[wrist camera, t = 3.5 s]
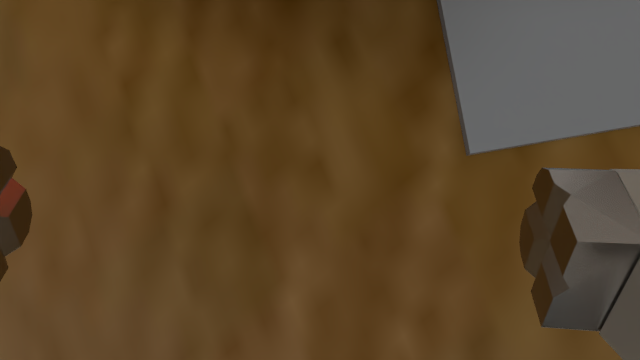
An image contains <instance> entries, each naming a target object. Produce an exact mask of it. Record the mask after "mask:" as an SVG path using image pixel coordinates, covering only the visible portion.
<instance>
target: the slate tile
mask: <svg viewBox="0 0 640 360" xmlns="http://www.w3.org/2000/svg"><path fill="white" fill-rule="evenodd" d="M437 4H438V9H439V15H440V20H441V25H442V30H443V35H444V40H445V46H446V51H447V56H448V61H449V66H450V72H451V77H452V82H453V87H454V92H455V98H456V103H457V108H458V113H459V118H460V124H461V129H462V134H463V139H464V144H465V149H466V155H473V154H479V153H484V152H490V151H496V150H502V149H508V148H514V147H519V146H525V145H531V144H537V143H543V142H549V141H554V140H560V139H566V138H572V137H578V136H584V135H589V134H595V133H601V132H607V131H613V130H619V129H624V128H630V127H636V126H640V0H437Z"/></svg>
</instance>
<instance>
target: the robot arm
mask: <svg viewBox="0 0 640 360" xmlns="http://www.w3.org/2000/svg"><path fill="white" fill-rule="evenodd" d="M16 168H17V166H16V164H15V162H14V160H13V158H12V156H11V153H10V151H9V150H7V149H5V148H3V147H1V146H0V281H1V279H2V278H3V276H4V274H5V273H6V271H7V269H8V265H7V261H6V258H5V256H7V255H8V254H10V253H11V252H13V251H14V250H16V249H17V248H19V247H21V245H22V244H23V242H24V240H25V238H26V236H27V235H28V233H29V228H30V223H31V218H32V210H31V202H30V199H29V196H28V193H27V191H26V189H25V188H24V187H23V186H21V185H20V184H19V183H18V182H16V181H15V180H14V179H13V178H12V176H13V174H14V172H15V170H16ZM532 189H533V192H534V195H535V198H536V202H535V203H533V204H532V205H531V206H529V207H528V208H527V209H526V210H525V212H524V216H523V219H522V223H521V228H520V242H519V243H520V252H521V258H522V261H523V265H524V268H525V269H526V270H527V271H528V272H529V273H530V274H531V275H533V276H534V277H535V281H534V284H533V287H532V289H531V293H532V297H533V300H534V304H535V307H536V310H537V314H538V317H539V321H540V324H541V327H548V328H561V329H575V330H589V331H600V333H599V334H600V336H601V337H602V338H603V339H604V340H605V341H606V342H607V343H608V344H609V345H610V346H611V347H612V348H613V349H614V350H615V351H616V352H617V354H618V355H619V356H620V357H621V358H622V359H623V360H640V170H635V169H610V170H592V169H563V168H541V170H540V171H539V173H538V174H537V176H536V179H535V181H534V184H533V187H532Z"/></svg>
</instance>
